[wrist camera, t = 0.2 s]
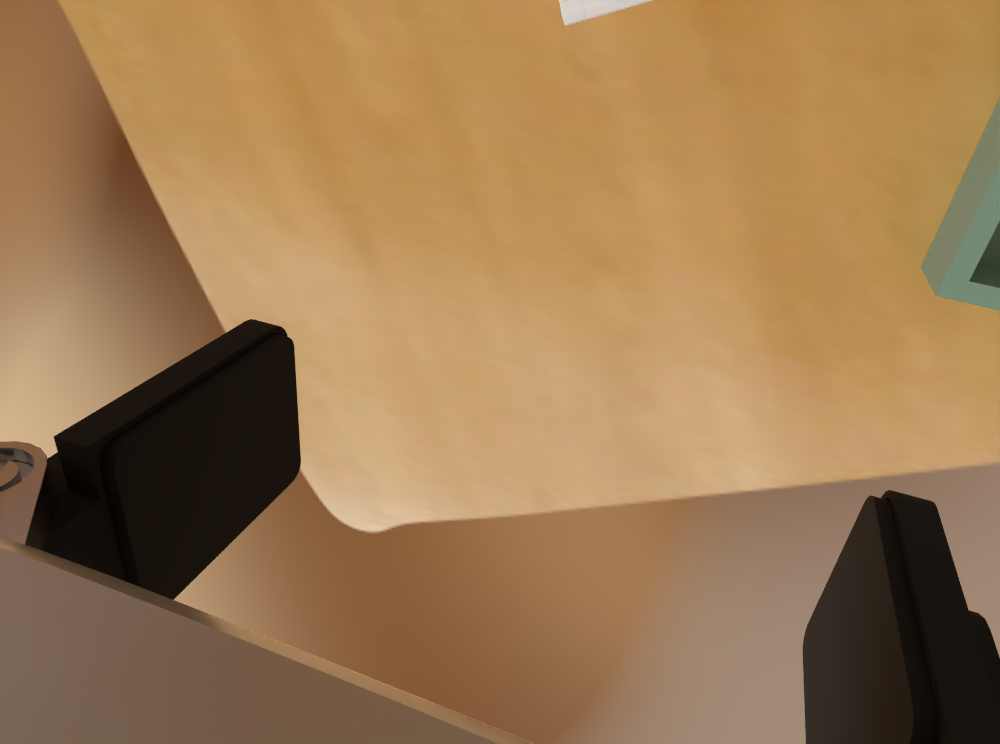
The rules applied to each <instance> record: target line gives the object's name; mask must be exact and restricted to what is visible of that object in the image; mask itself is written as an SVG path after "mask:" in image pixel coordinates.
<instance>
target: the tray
mask: <svg viewBox="0 0 1000 744" xmlns="http://www.w3.org/2000/svg"><path fill="white" fill-rule="evenodd" d="M921 268H922V270H923V272H924V274H925V276H926V278H927V280H928V282H929V284H930V286H931V288H932V290H933V291H934V293H935V295H936V296H939V297H944V298H948V299H952V300H957V301H961V302H965V303H970V304H974V305H978V306H982V307H987V308H991V309H995V310H1000V99H999V101H998V104H997V106H996V108H995V110H994V112H993V114H992V116H991V119H990V121H989V123H988V125H987V127H986V129H985V131H984V134H983V136H982V138H981V140H980V142H979V144H978V146H977V149H976V151H975V153H974V155H973V157H972V159H971V161H970V164H969V166H968V168H967V170H966V172H965V174H964V177H963V179H962V181H961V183H960V185H959V187H958V189H957V192H956V194H955V196H954V198H953V200H952V202H951V204H950V207H949V209H948V211H947V213H946V215H945V217H944V219H943V222H942V224H941V226H940V228H939V230H938V232H937V234H936V237H935V239H934V241H933V243H932V245H931V247H930V249H929V252H928V254H927V256H926V258H925V260H924V262H923V264H922V267H921Z"/></svg>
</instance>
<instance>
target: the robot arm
mask: <svg viewBox="0 0 1000 744" xmlns="http://www.w3.org/2000/svg"><path fill="white" fill-rule="evenodd" d="M54 439H55V443H56V446H57V450H58V453H56V454H54V455H53V456H52V457H50V458H48V459H47V456H46V454H45V453H44V452H43V451H42V449H41V448H39V447H36V446H34V445H32V444H29V443H23V442H16V441H14V442H0V744H534V743H532V742H530V741H527V740H524V739H522V738H520V737H517V736H515V735H512V734H509V733H507V732H505V731H502V730H500V729H497V728H495V727H492V726H490V725H487V724H485V723H482V722H480V721H477V720H475V719H473V718H470V717H467V716H465V715H463V714H460V713H457V712H455V711H453V710H450V709H448V708H445V707H443V706H440V705H437V704H435V703H432V702H430V701H427V700H425V699H422V698H420V697H418V696H415V695H412V694H410V693H407V692H405V691H402V690H400V689H397V688H395V687H392V686H390V685H387V684H385V683H382V682H380V681H377V680H375V679H372V678H370V677H367V676H365V675H362V674H360V673H357V672H354V671H352V670H350V669H347V668H344V667H342V666H339V665H337V664H334V663H332V662H329V661H327V660H324V659H322V658H319V657H317V656H314V655H312V654H309V653H307V652H304V651H302V650H299V649H296V648H294V647H292V646H289V645H286V644H284V643H281V642H279V641H276V640H274V639H271V638H269V637H266V636H264V635H261V634H259V633H256V632H254V631H251V630H249V629H246V628H243V627H240V626H238V625H236V624H233V623H230V622H228V621H225V620H223V619H220V618H218V617H215V616H213V615H210V614H208V613H205V612H202V611H200V610H197V609H195V608H192V607H189V606H187V605H184V604H182V603H179V602H177V601H174V599H175V598H176V597H177V596H178V594H180V593H181V592H182V591H183V590H184V589H185V588H186V587H187V586H188V585H189V584H190V583H191V582H192V581H193V580H194V579H195V578H196V577H197V576H198V575H199V574H200V573H201V572H202V571H203V570H204V569H205V568H206V567H207V566H208V565H209V564H210V563H211V562H212V561H213V560H214V559H215V558H216V557H217V556H218V555H219V554H220V553H221V552H222V551H223V550H224V549H225V548H226V547H227V546H228V545H229V544H230V543H231V542H232V541H233V540H234V539H235V538H236V537H237V536H238V535H239V534H240V533H241V532H242V531H243V530H244V529H245V528H246V527H247V526H248V525H249V524H250V523H251V522H252V521H253V520H254V519H255V518H256V517H258V515H260V513H262V512H263V511H264V509H266V508H267V507H268V506H269V505H270V504H271V503H272V502H273V501H274V499H276V498H277V497H278V496H279V495H280V494H281V492H283V491H284V490H285V489H286V488H287V487H288V486H289V485H290V484H291V483H292V482H293V481H294V479H295V477H296V476H297V474H298V472H299V469H300V464H301V457H300V440H299V423H298V406H297V388H296V371H295V354H294V344H293V341H292V339H290V338H289V337H287V333H286V331H285V329H283V328H282V327H280V326H276V325H272V324H269V323H265V322H261V321H258V320H252V319H250V320H247V321H245V322H243V323H242V324H240V325H238V326H237V327H235V328H233V329H232V330H230V331H229V332H227V333H225V334H224V335H222V336H220V337H219V338H217V339H215V340H214V341H212V342H210V343H209V344H207V345H205V346H204V347H202V348H200V349H199V350H197V351H195V352H194V353H192V354H190V355H189V356H187V357H185V358H184V359H182V360H180V361H179V362H177V363H175V364H174V365H172V366H170V367H169V368H167V369H165V370H164V371H162V372H161V373H159V374H157V375H155V376H154V377H152V378H151V379H149V380H147V381H146V382H144V383H142V384H140V385H139V386H137V387H135V388H134V389H132V390H130V391H129V392H127V393H126V394H124V395H122V396H121V397H119V398H117V399H116V400H114V401H113V402H111V403H109V404H107V405H106V406H104V407H102V408H101V409H99V410H97V411H96V412H94V413H92V414H91V415H89V416H87V417H86V418H84V419H82V420H81V421H79V422H77V423H76V424H74V425H73V426H71V427H69V428H67V429H66V430H64V431H62V432H61V433H59V434H58V435H56V436H54ZM803 667H804V668H803V669H804V697H805V727H806V744H1000V658H999V655H998V652H997V649H996V646H995V643H994V640H993V637H992V634H991V631H990V628H989V626H988V624H987V622H986V620H985V619H984V618H983V617H982V616H981V615H980V614H979V613H975V612H972V611H969V610H968V607H967V604H966V601H965V598H964V594H963V592H962V588H961V585H960V582H959V578H958V575H957V571H956V569H955V565H954V562H953V558H952V556H951V552H950V549H949V545H948V542H947V539H946V536H945V533H944V529H943V526H942V523H941V519H940V516H939V513H938V510H937V507H936V505H935V503H934V502H932V501H929V500H925V499H921V498H917V497H913V496H910V495H906V494H902V493H899V492H895V491H891V490H888V491H886V492H885V493H884V494H883V496H882V498H878V497H874V496H869V497H868V498H867V499H866V501H865V503H864V505H863V507H862V509H861V511H860V513H859V515H858V517H857V520H856V522H855V524H854V526H853V528H852V530H851V533H850V535H849V537H848V539H847V541H846V543H845V545H844V548H843V550H842V552H841V554H840V556H839V558H838V561H837V563H836V565H835V567H834V569H833V571H832V574H831V576H830V578H829V580H828V582H827V584H826V586H825V588H824V591H823V593H822V595H821V597H820V599H819V601H818V603H817V606H816V608H815V610H814V612H813V614H812V617H811V618H810V621H809V623H808V625H807V628H806V632H805V636H804V642H803Z"/></svg>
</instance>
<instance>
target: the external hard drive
mask: <svg viewBox="0 0 1000 744" xmlns="http://www.w3.org/2000/svg"><path fill="white" fill-rule="evenodd" d="M651 1H654V0H559V2H560V8H561V13H562V17H563V21H564V24H565V25H572V24H575V23H579V22H583V21H586V20H589V19H592V18H596V17H600V16H603V15H606V14H610V13H613V12H617V11H620V10H623V9H627V8H630V7H634V6H637V5H640V4H644V3H647V2H651Z"/></svg>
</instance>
